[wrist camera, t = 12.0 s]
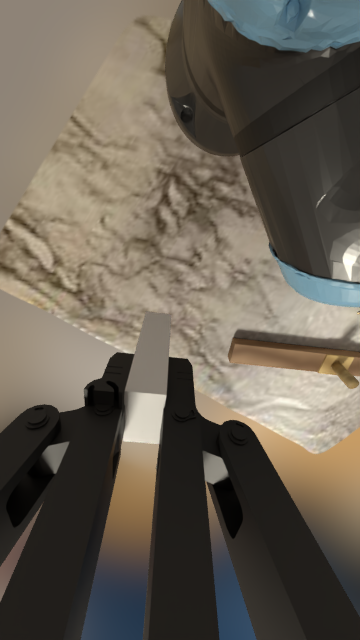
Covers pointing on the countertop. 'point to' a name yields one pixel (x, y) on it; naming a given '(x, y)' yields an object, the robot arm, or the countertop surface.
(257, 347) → the beam plank
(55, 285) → the countertop surface
